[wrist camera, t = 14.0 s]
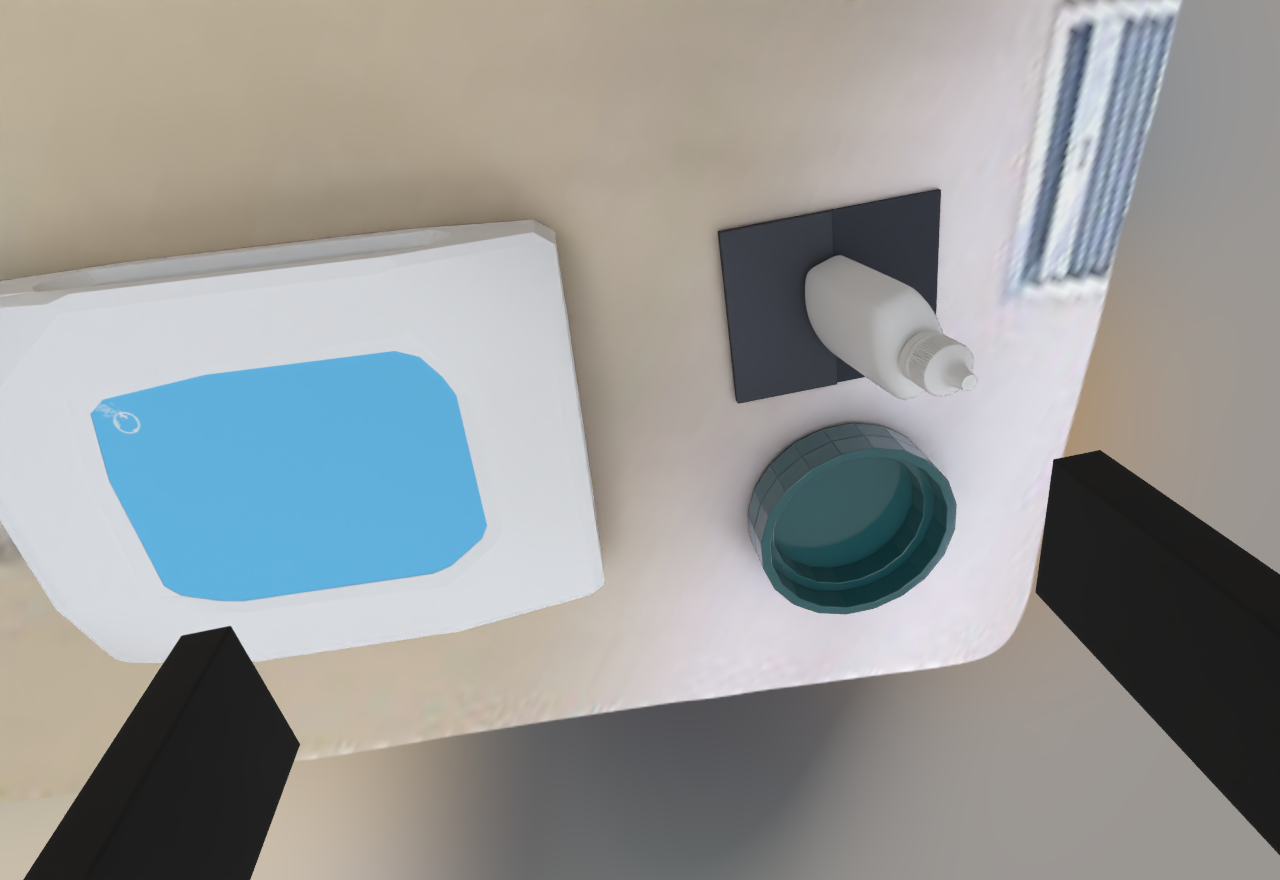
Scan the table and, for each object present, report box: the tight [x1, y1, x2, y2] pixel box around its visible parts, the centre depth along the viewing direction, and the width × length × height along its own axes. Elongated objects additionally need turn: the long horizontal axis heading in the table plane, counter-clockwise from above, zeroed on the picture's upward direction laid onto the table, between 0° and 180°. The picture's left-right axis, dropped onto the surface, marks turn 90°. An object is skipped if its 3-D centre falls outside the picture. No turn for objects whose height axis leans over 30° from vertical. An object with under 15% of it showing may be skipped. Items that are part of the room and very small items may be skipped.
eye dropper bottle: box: [805, 255, 977, 400], centre depth 34 cm, size 4×6×12 cm
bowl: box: [748, 423, 956, 614], centre depth 45 cm, size 12×12×4 cm
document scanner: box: [0, 220, 605, 663], centre depth 37 cm, size 21×28×6 cm
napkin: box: [718, 189, 941, 403], centre depth 40 cm, size 10×12×1 cm
